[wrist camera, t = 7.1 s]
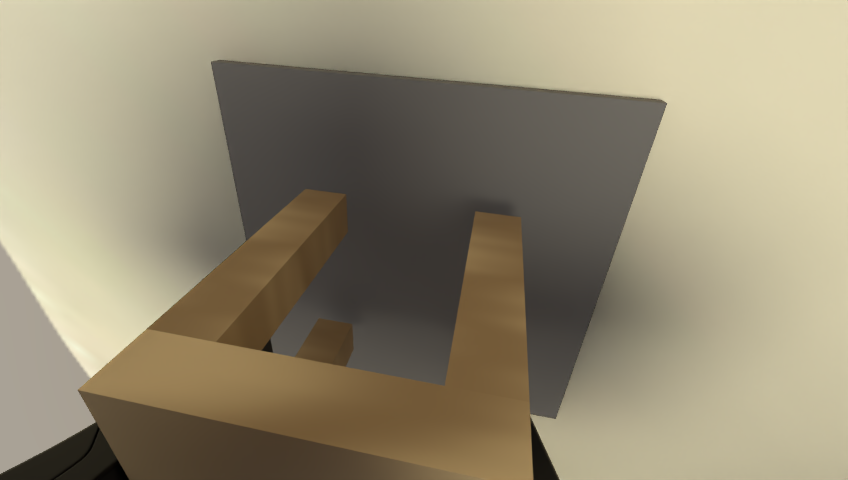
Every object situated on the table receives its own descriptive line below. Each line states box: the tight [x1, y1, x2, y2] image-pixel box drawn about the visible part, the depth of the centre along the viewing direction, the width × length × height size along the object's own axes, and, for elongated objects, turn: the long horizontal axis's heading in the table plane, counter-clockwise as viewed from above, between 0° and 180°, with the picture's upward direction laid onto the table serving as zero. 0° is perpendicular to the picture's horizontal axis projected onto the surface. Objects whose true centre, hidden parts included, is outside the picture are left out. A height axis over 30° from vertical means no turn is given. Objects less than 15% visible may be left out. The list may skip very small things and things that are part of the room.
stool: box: [78, 189, 533, 480], centre depth 9 cm, size 6×6×7 cm
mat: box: [211, 60, 667, 419], centre depth 14 cm, size 12×12×1 cm
